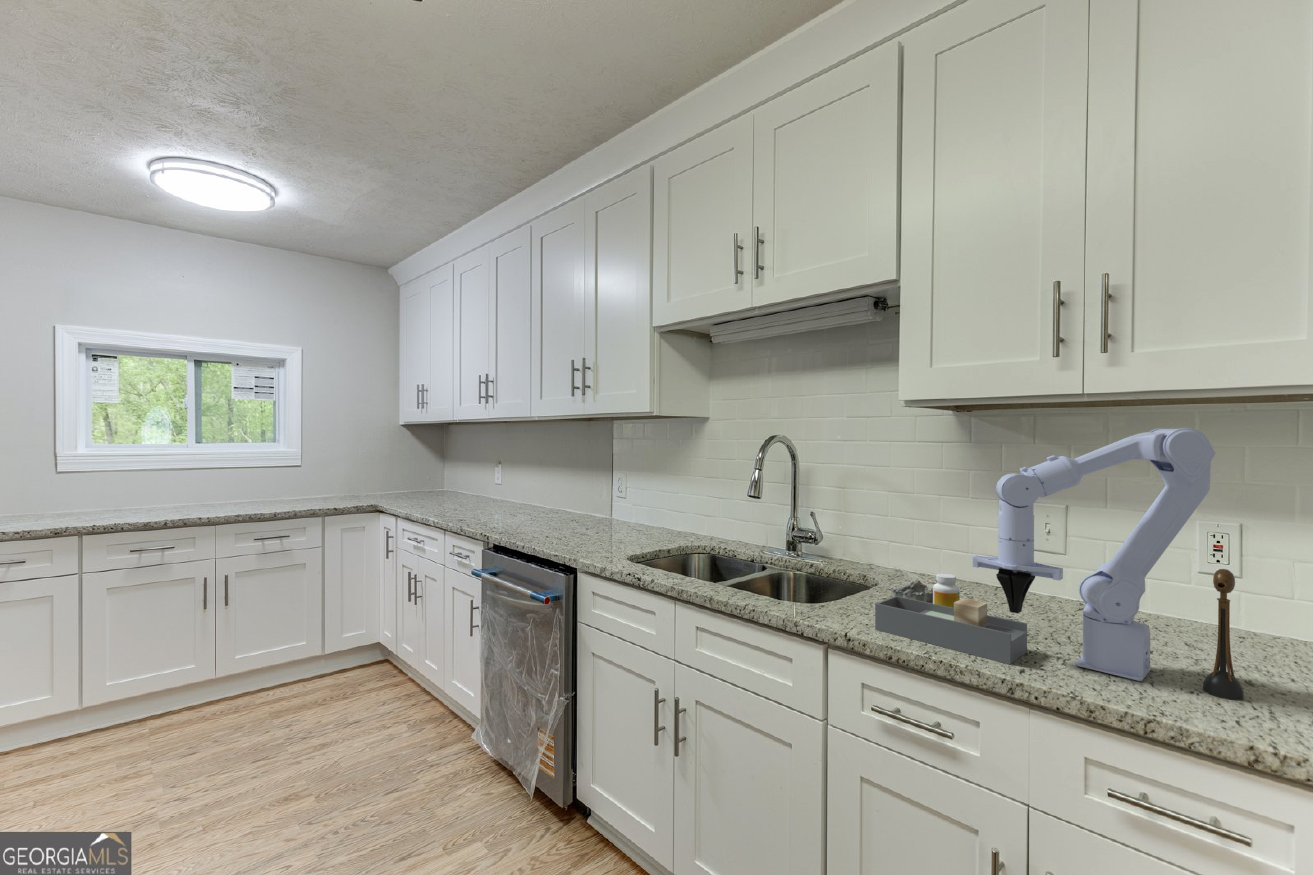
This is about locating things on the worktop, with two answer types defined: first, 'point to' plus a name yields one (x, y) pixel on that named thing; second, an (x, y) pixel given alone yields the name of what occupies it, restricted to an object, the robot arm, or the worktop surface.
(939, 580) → the supplement bottle
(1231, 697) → the wooden tabletop sculpture
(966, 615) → the maple block
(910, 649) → the worktop surface
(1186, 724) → the worktop surface
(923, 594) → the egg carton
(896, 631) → the grey drawer organizer tray
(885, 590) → the worktop surface
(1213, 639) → the worktop surface
